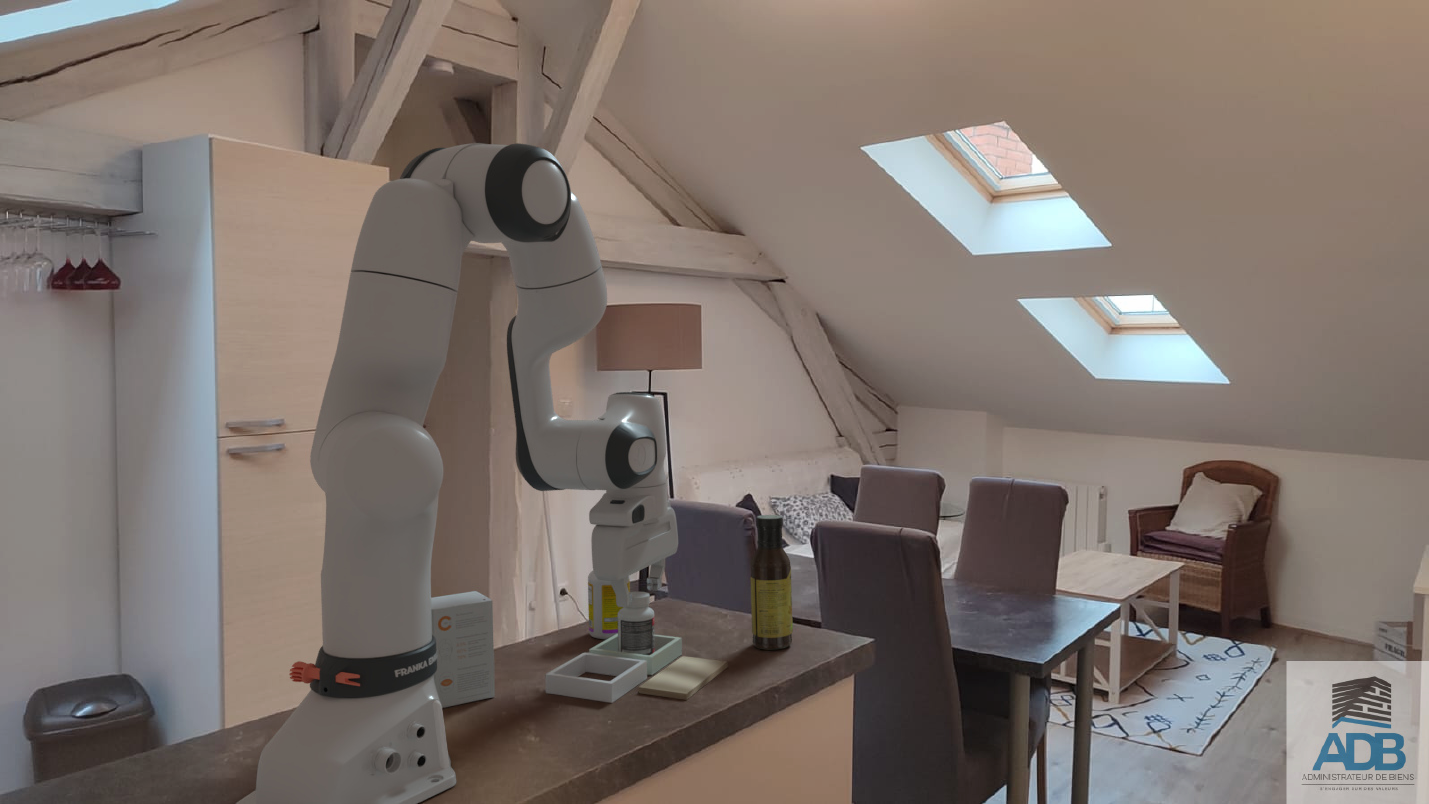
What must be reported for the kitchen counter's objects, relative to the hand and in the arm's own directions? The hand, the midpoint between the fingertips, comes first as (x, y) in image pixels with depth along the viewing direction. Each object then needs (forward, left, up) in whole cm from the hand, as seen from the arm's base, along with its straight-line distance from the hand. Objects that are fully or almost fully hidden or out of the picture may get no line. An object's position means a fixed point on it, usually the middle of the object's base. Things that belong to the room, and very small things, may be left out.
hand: (639, 597), depth 141 cm
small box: (-22, +16, -10) cm, 29 cm away
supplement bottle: (+10, +11, -10) cm, 17 cm away
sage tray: (0, +1, -9) cm, 9 cm away
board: (-5, -9, -9) cm, 14 cm away
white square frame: (-12, +1, -9) cm, 15 cm away
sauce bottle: (+14, -15, -10) cm, 23 cm away
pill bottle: (0, +1, -10) cm, 10 cm away
